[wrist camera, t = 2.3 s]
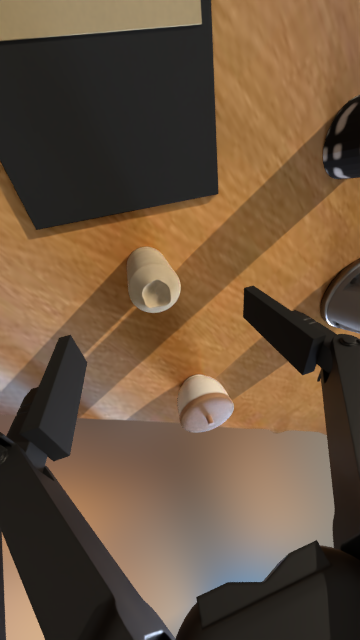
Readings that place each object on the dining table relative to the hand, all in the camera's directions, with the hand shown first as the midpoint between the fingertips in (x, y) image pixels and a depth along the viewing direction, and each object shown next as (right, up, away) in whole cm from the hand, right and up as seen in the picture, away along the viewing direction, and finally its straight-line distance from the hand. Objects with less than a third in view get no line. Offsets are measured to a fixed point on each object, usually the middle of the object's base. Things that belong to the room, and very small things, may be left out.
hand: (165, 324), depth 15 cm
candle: (-4, +8, +13) cm, 16 cm away
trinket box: (+4, -14, +29) cm, 32 cm away
